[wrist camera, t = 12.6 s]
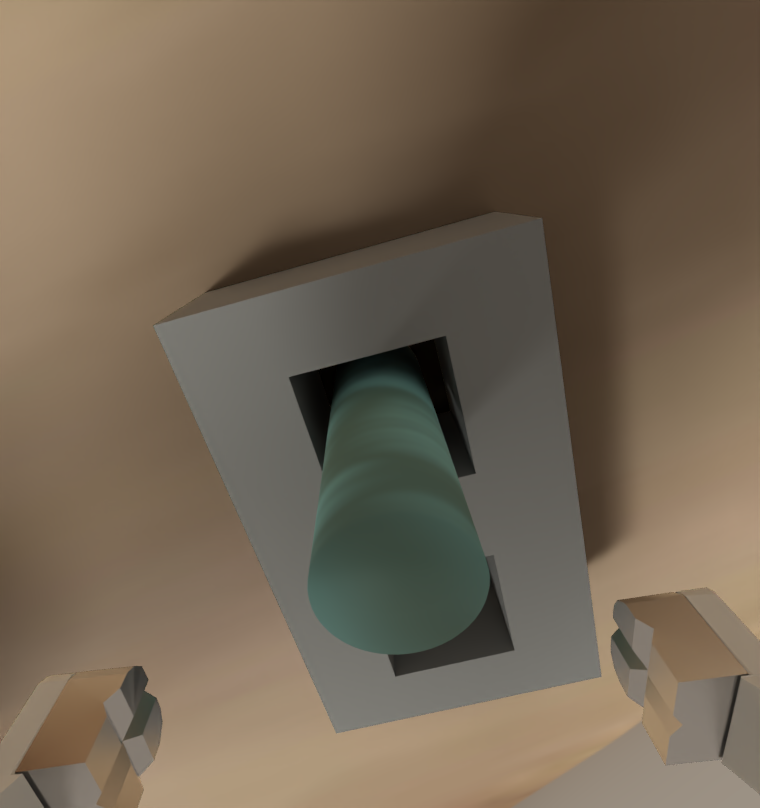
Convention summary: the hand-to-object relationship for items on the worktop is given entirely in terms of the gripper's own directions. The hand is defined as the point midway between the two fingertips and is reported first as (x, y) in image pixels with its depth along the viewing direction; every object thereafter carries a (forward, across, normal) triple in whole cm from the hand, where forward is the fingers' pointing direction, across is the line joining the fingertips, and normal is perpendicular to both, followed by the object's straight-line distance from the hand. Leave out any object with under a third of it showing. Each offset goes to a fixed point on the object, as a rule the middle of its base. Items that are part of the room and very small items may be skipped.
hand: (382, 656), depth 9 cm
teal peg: (+16, -1, +1) cm, 16 cm away
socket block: (+16, -1, +5) cm, 17 cm away
